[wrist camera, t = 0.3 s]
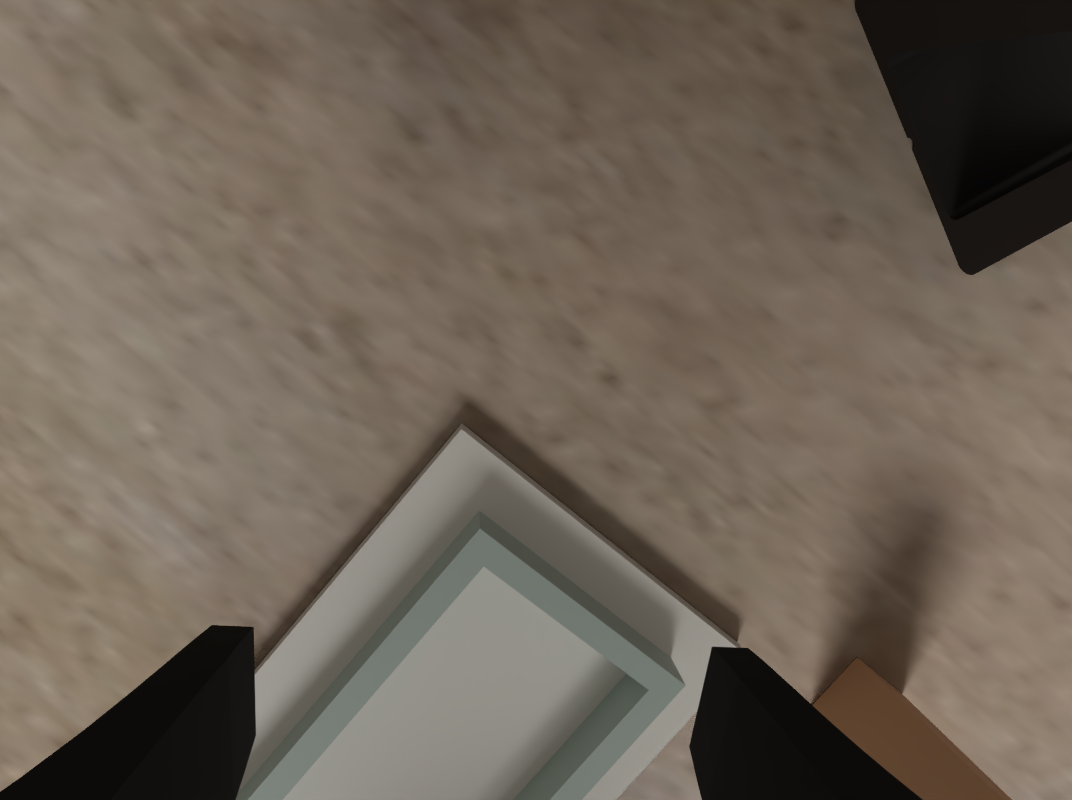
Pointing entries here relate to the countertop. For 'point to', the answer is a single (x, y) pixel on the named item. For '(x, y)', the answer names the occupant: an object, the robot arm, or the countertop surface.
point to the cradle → (477, 654)
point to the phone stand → (983, 113)
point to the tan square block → (902, 738)
